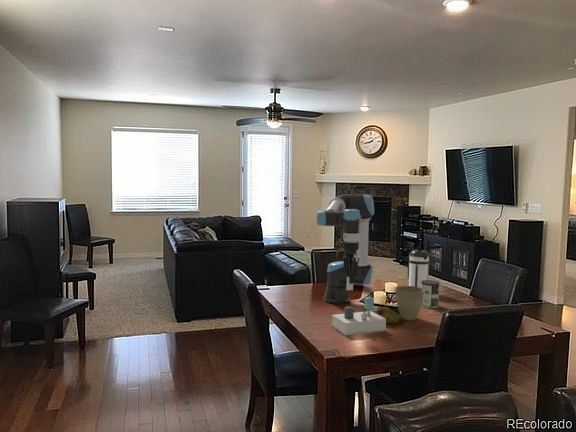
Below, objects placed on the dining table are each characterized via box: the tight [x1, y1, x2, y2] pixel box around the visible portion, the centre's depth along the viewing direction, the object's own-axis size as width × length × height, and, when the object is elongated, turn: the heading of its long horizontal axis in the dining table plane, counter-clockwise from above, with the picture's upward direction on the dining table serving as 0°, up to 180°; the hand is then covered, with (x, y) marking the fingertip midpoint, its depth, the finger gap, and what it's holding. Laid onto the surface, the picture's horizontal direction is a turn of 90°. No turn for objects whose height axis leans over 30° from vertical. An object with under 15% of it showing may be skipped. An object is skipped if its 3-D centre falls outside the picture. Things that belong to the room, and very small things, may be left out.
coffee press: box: [407, 246, 431, 288], centre depth 315 cm, size 17×16×30 cm
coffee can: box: [421, 279, 440, 309], centre depth 281 cm, size 10×10×14 cm
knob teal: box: [363, 296, 375, 317], centre depth 237 cm, size 4×4×10 cm
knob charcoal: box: [343, 306, 355, 319], centre depth 234 cm, size 4×4×10 cm
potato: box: [376, 306, 403, 325], centre depth 247 cm, size 8×13×8 cm, turn 76°
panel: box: [331, 310, 387, 336], centre depth 236 cm, size 14×22×6 cm, turn 111°
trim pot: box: [361, 311, 367, 321], centre depth 231 cm, size 3×3×4 cm
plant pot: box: [394, 285, 424, 321], centre depth 254 cm, size 15×15×16 cm
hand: (349, 289), depth 233 cm, fingers closed
